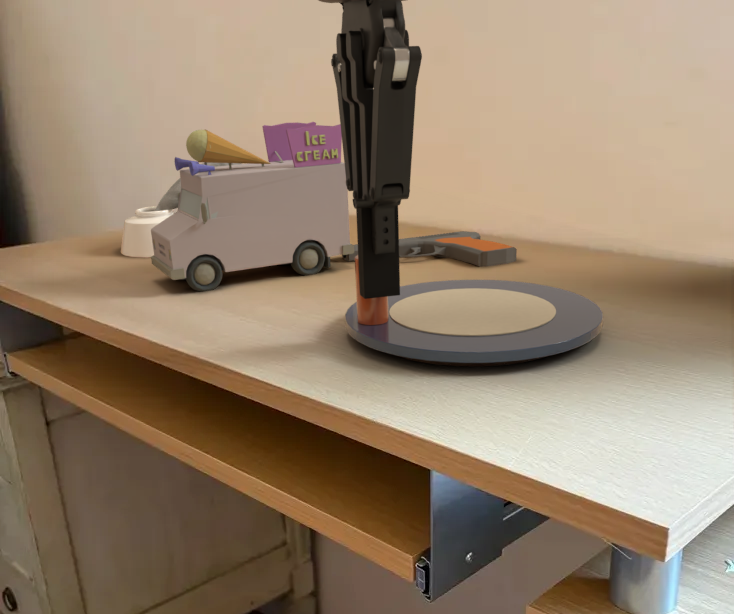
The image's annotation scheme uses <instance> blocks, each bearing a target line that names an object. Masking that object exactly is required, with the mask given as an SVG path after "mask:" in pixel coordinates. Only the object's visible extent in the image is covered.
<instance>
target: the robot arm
mask: <svg viewBox="0 0 734 614" xmlns="http://www.w3.org/2000/svg"><path fill="white" fill-rule="evenodd" d="M318 1H319V2H321V3H326V4H340V5H341V7H342V14H341V30H340V32H338V33H337V34H336V37H335V38H336V40H335V41H336V44H335V46H336V53H332V55H331V59H330V64H331V67H332V71H333V76H334V81H335V86H336V95H337V104H338V114H339V115H338V116H339V124H340V125H341V134H342V144H341V145H342V153H343V154H342V155H343V163H345V173H346V186H347V189H348V192H352V205H353V208H354V209H355V210H356V211H355V212H356V213H355V214H356V235H357V236H356V237H357V244H358V264H359V288H360V295H361V296H362V297H363V298H364V299H369V298H378V297H387V296H397V295H400V286H401V279H400V277H401V276H400V275H401V273H400V272H401V271H400V270H401V269H400V257H399V239H400V234H399V233H400V231H399V230H400V229H399V228H400V227H399V226H400V225H399V206H400V205H401V203H402V200H408V199H409V197H410V193H411V175H412V161H413V159H412V158H413V146H414V145H413V144H414V129H415V128H414V126H415V114H416V113H415V111H416V98H417V97H416V96H417V84H418V81H419V80H418V79H419V74H420V69H421V64H422V60H423V54H422V49H421V47H420V46H419V45H410V35H409V32H408V30H407V29H406V20H405V14H404V6H403V2H404V1H405V2H406V1H407V0H318Z"/></svg>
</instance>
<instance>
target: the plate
mask: <svg viewBox="0 0 734 614" xmlns="http://www.w3.org/2000/svg"><path fill="white" fill-rule="evenodd" d="M354 272H355V273H354V274H355V297H356V299H355V300H356V301H355V302H354V303H353V304H351V305H350V306H349V307H348V308H347V310H346V312H345V315H344V318H345V319H344V320H345V330H346V331H347V334H348V335H349V336H350V337H351V338H352V339H353V340H355V341H357V342H358V343H360V344H361V345H364V346H366V347H368V348H370V349H373V350H376V351H379V352H382V353H386V354H388V355H391V356H396V355H397V356H396V357H399V356H402V357H407V358H413V359H420V360H428V361H439V362H456V363H491V362H507V361H518V360H526V359H533V358H539V357H544V356H547V357H550V356H554V355H559V354H561V353H566V352H569V351H572V350H574V349H577V348H579V347H582V346H584V345H586V344H588V343H590V342H591V341H592V340H594V339H596V338H597V336H598V335H599V334H600V333H601V331H602V329H603V323H604V313H603V311H602V309H601V307H600V306H599V305H598V304H596V302H594V301H593V300H591V299H590V298H588V297H585V296H583V295H582V294H578V293H576V292H573V291H570V290H566V289H563V288H558V287H554V286H550V285H544V284H540V283H539V284H538V283H532V282H526V281H525V282H524V281H516V280H502V279H500V280H499V279H451V280H449V279H448V280H438V281H427V282H420V283H419V282H418V283H412V284H406V285H400V295H397V296H387V297H378V298H369V299H364V298H363V297H362V296H361V295H360V288H359V264H358V255H357V256H355V261H354ZM549 355H550V356H549ZM402 357H401V358H402ZM544 358H545V357H544Z"/></svg>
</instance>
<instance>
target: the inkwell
mask: <svg viewBox="0 0 734 614" xmlns="http://www.w3.org/2000/svg"><path fill="white" fill-rule="evenodd" d="M201 164H202V165H205V164H204V162H201ZM239 164H242V163H231V165H239ZM207 165H209V166H214V167H217V166H228V165H229V163H207ZM180 191H181V180H180V178H178V179H177V180H176V181H175V182H174V183H173V184H172V185H171V186H170V187H169V188H168V190H167V191H166V192H165V194H164V195H163V196H162V197H161V198H160V200H159V202H158V203H157V205H154V206H153V205H152V206H145V207H141V208H137V209H135V211H134V214H135V215H133V216H129V217H127V218H126V219H125V220H124V223H123V230H122V237H121V245H120V253H121V254H122V255H123V256H125V257H131V258H144V259H145V258H151V257H152V256H153V255H154V250H153V243H152V235H151V229H152V228H153V227H155V226H156V225H158V224H159V223H161V222H162V221H164V220H165V219H167V218H168V217H170V216H171V215H173V214H174V213H175V212H174V211H175V210H176V209H178V204H179V202H178V192H179V195H180Z"/></svg>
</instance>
